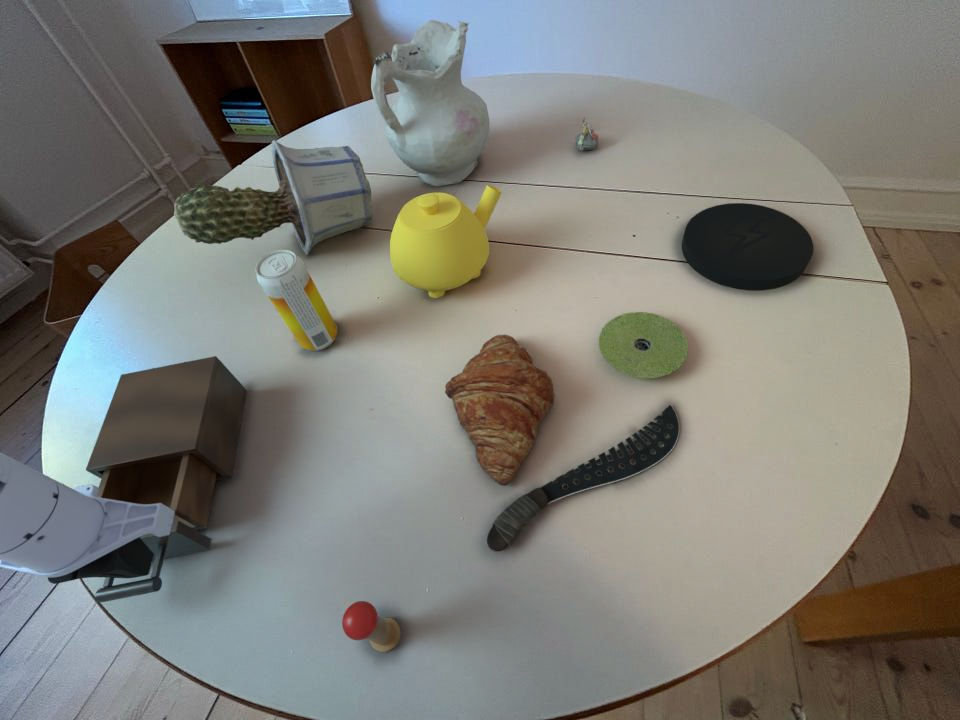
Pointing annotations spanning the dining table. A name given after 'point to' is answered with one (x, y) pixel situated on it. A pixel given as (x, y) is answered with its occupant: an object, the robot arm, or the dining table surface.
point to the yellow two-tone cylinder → (296, 299)
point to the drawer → (175, 486)
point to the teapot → (441, 241)
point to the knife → (539, 498)
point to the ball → (360, 620)
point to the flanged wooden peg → (385, 635)
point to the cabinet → (172, 417)
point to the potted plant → (284, 200)
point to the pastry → (501, 404)
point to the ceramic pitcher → (432, 105)
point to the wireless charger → (747, 246)
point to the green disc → (643, 345)
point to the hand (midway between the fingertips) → (144, 565)
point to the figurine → (586, 138)
